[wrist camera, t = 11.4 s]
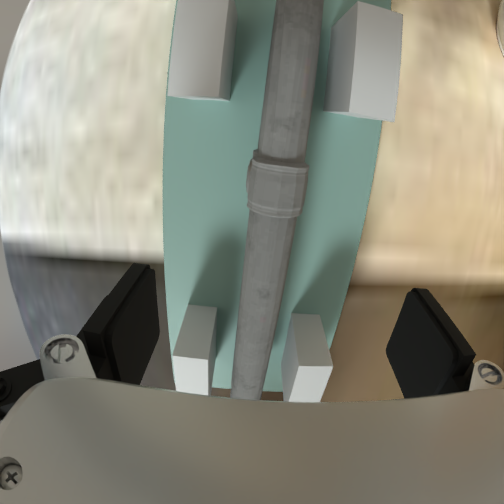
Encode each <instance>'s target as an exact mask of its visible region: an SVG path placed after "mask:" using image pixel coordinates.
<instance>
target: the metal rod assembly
mask: <svg viewBox="0 0 504 504" xmlns="http://www.w3.org/2000/svg"><path fill="white" fill-rule="evenodd" d="M323 5H324V0H276V6H275V14H274V21H273V29H272V37H271V44H270V52H269V60H268V68H267V76H266V84H265V92H264V100H263V108H262V116H261V124H260V132H259V140H258V148H257V149H256V150H253V157H252V159H251V160H250V163H249V165H248V170H247V178H246V191H247V193H248V196H247V199H248V202H247V207H248V208H249V218H248V227H247V236H246V245H245V255H244V264H243V273H242V283H241V292H240V302H239V311H238V321H237V330H236V340H235V350H234V359H233V369H232V379H231V395H230V398H239V399H251V400H261V395H262V391H263V386H264V382H265V378H266V373H267V368H268V364H269V359H270V355H271V350H272V345H273V341H274V336H275V331H276V326H277V321H278V316H279V312H280V307H281V302H282V296H283V291H284V286H285V281H286V276H287V271H288V265H289V260H290V254H291V249H292V244H293V238H294V232H295V227H296V221H297V216H300V215H301V213H302V208H303V205H304V201H305V195H306V189H307V183H308V171H309V167H310V166H309V165H308V164H306V163H305V156H306V149H307V142H308V135H309V127H310V120H311V112H312V105H313V97H314V89H315V81H316V72H317V63H318V55H319V45H320V36H321V26H322V16H323Z"/></svg>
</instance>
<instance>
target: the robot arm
mask: <svg viewBox="0 0 504 504" xmlns="http://www.w3.org/2000/svg"><path fill="white" fill-rule="evenodd" d="M159 332H160V329H159V318H158V307H157V295H156V280H155V271H154V269H150V266H149V265H147V264H138V263H133V264H132V265H131V267H130V268H129V269H128V270H127V272H126V273H125V274H124V276H123V277H122V278H121V279H120V281H119V282H118V283H117V285H116V286H115V287H114V288H113V290H112V291H111V292H110V294H109V295H107V296H106V297H105V298H104V299H103V301H102V302H101V303H100V305H99V306H98V307H97V309H96V310H95V311H94V313H93V314H92V316H91V317H90V318H89V320H88V321H87V322H86V324H85V325H84V327H83V328H82V329H81V331H80V332H79V334H78V335H77V336H73V335H66V334H63V335H57V336H55V337H52V338H50V339H49V340H47V341H46V342H45V343H44V344H43V345H42V347H41V349H40V359H39V360H36V361H33V362H30V363H27V364H23V365H20V366H17V367H14V368H11V369H8V370H5V371H1V372H0V504H504V373H503V371H502V370H501V369H500V368H499V367H498V366H497V365H496V364H494V363H492V362H490V361H487V360H481V361H478V362H476V363H475V365H474V364H473V362H472V361H473V359H474V358H475V356H476V354H475V352H474V351H473V349H472V348H471V346H470V345H469V344H468V342H467V341H466V339H465V338H464V336H463V335H462V334H461V332H460V331H459V330H458V328H457V327H456V325H455V324H454V323H453V321H452V320H451V319H450V317H449V316H448V315H447V313H446V312H445V311H444V310H443V308H442V307H441V306H440V304H439V303H438V302H437V301H436V299H435V298H434V297H433V295H432V294H431V293H430V292H429V290H427V289H421V288H413V289H412V290H411V292H408V293H407V295H406V298H405V301H404V304H403V306H402V309H401V312H400V314H399V317H398V320H397V322H396V325H395V327H394V330H393V332H392V335H391V337H390V340H389V342H388V344H387V348H386V354H387V357H388V359H389V362H390V364H391V366H392V369H393V371H394V374H395V376H396V378H397V381H398V383H399V386H400V388H401V391H402V393H403V396H404V398H405V399H393V400H378V401H357V402H288V401H267V400H251V399H239V398H228V397H218V396H209V395H201V394H193V393H186V392H179V391H173V390H166V389H160V388H155V387H148V386H142V385H140V383H141V380H142V378H143V375H144V373H145V370H146V368H147V365H148V363H149V360H150V358H151V355H152V353H153V351H154V348H155V346H156V343H157V341H158V338H159Z"/></svg>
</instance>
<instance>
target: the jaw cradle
mask: <svg viewBox="0 0 504 504" xmlns="http://www.w3.org/2000/svg"><path fill="white" fill-rule="evenodd" d="M275 6H276V0H177V1H176V8H175V15H174V22H173V30H172V38H171V47H170V56H169V67H168V78H167V91H166V105H165V123H164V148H163V242H164V267H165V286H166V301H167V315H168V327H169V338H170V348H171V357H172V366H173V375H174V382H175V384H176V391H179V392H186V393H193V394H201V395H209V396H211V389H212V387H216V388H227V389H231V379H232V369H233V359H234V350H235V340H236V330H237V321H238V311H239V302H240V292H241V283H242V273H243V264H244V255H245V245H246V236H247V227H248V218H249V208H248V207H247V202H248V199H247V196H248V193H247V191H246V178H247V170H248V165H249V163H250V160H251V159H252V157H253V150H256V149H257V148H258V140H259V132H260V124H261V116H262V108H263V100H264V92H265V84H266V76H267V68H268V60H269V52H270V44H271V37H272V29H273V21H274V14H275ZM402 26H403V14H400V13H397V12H394V11H391V0H324V5H323V16H322V26H321V36H320V45H319V55H318V63H317V72H316V81H315V89H314V97H313V105H312V112H311V120H310V127H309V135H308V142H307V149H306V156H305V163H306V164H308V165H309V166H310V167H309V171H308V183H307V189H306V195H305V201H304V205H303V208H302V213H301V215H300V216H297V221H296V227H295V232H294V238H293V244H292V249H291V254H290V260H289V265H288V271H287V276H286V281H285V286H284V291H283V296H282V302H281V307H280V312H279V316H278V321H277V326H276V331H275V336H274V341H273V345H272V350H271V355H270V359H269V364H268V368H267V373H266V378H265V382H264V386H263V391H274V392H283V400H284V401H288V402H320V400H321V397H322V395H323V392H324V389H325V387H326V384H327V382H328V379H329V376H330V374H331V371H332V368H333V364H332V360H331V356H330V352H329V350H330V347H331V343H332V340H333V337H334V334H335V331H336V328H337V324H338V321H339V318H340V314H341V311H342V307H343V304H344V300H345V297H346V293H347V290H348V286H349V282H350V279H351V275H352V271H353V267H354V263H355V259H356V255H357V251H358V247H359V243H360V238H361V234H362V230H363V225H364V221H365V216H366V211H367V206H368V202H369V197H370V191H371V186H372V181H373V175H374V170H375V164H376V158H377V152H378V145H379V139H380V132H381V125H382V121H389V122H394V121H395V113H396V105H397V96H398V87H399V76H400V64H401V48H402Z"/></svg>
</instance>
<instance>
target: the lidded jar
mask: <svg viewBox="0 0 504 504" xmlns="http://www.w3.org/2000/svg"><path fill="white" fill-rule="evenodd" d="M496 33H497V39H498V43H499V46H500V49H501V52H502V54H503V56H504V0H501V3H500V6H499V11H498V19H497V24H496Z"/></svg>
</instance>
